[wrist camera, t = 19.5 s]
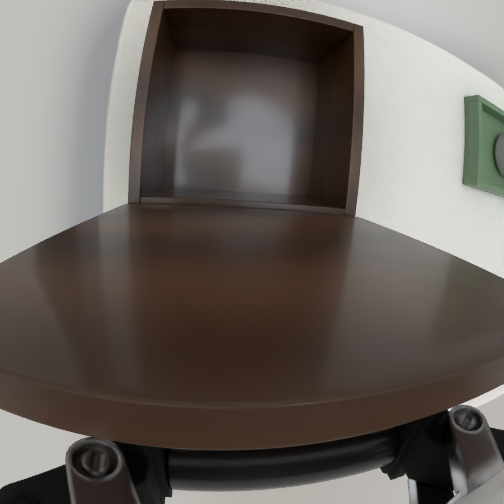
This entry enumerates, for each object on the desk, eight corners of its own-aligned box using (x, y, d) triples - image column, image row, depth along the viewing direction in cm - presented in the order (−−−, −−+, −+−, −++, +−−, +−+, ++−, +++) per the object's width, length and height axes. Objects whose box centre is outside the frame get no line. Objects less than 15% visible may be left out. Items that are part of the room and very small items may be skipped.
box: (170, 46, 22) (153, 0, 13) (323, 61, 24) (363, 26, 15) (155, 196, 25) (127, 209, 17) (313, 205, 27) (354, 221, 19)
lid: (-98, 326, 2) (17, 505, 3) (577, 318, 4) (495, 461, 5) (125, 203, 16) (128, 290, 18) (358, 216, 18) (345, 296, 20)
